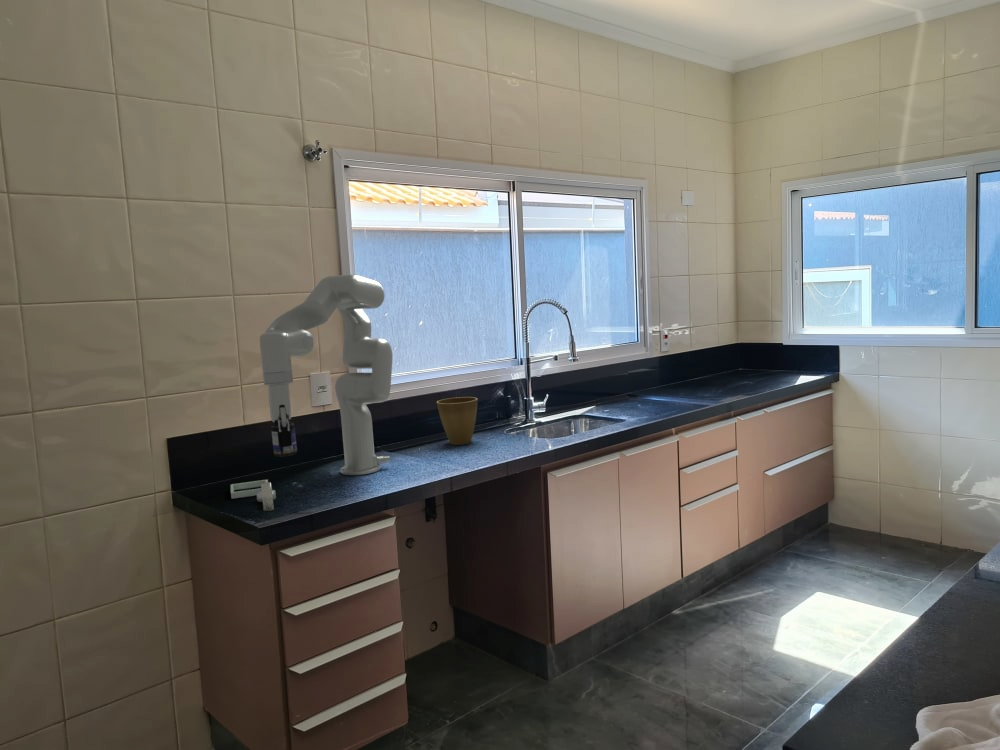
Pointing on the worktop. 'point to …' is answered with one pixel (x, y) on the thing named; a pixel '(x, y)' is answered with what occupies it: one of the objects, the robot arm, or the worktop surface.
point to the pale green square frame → (244, 486)
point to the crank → (266, 496)
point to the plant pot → (458, 418)
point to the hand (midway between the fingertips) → (284, 443)
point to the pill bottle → (277, 449)
